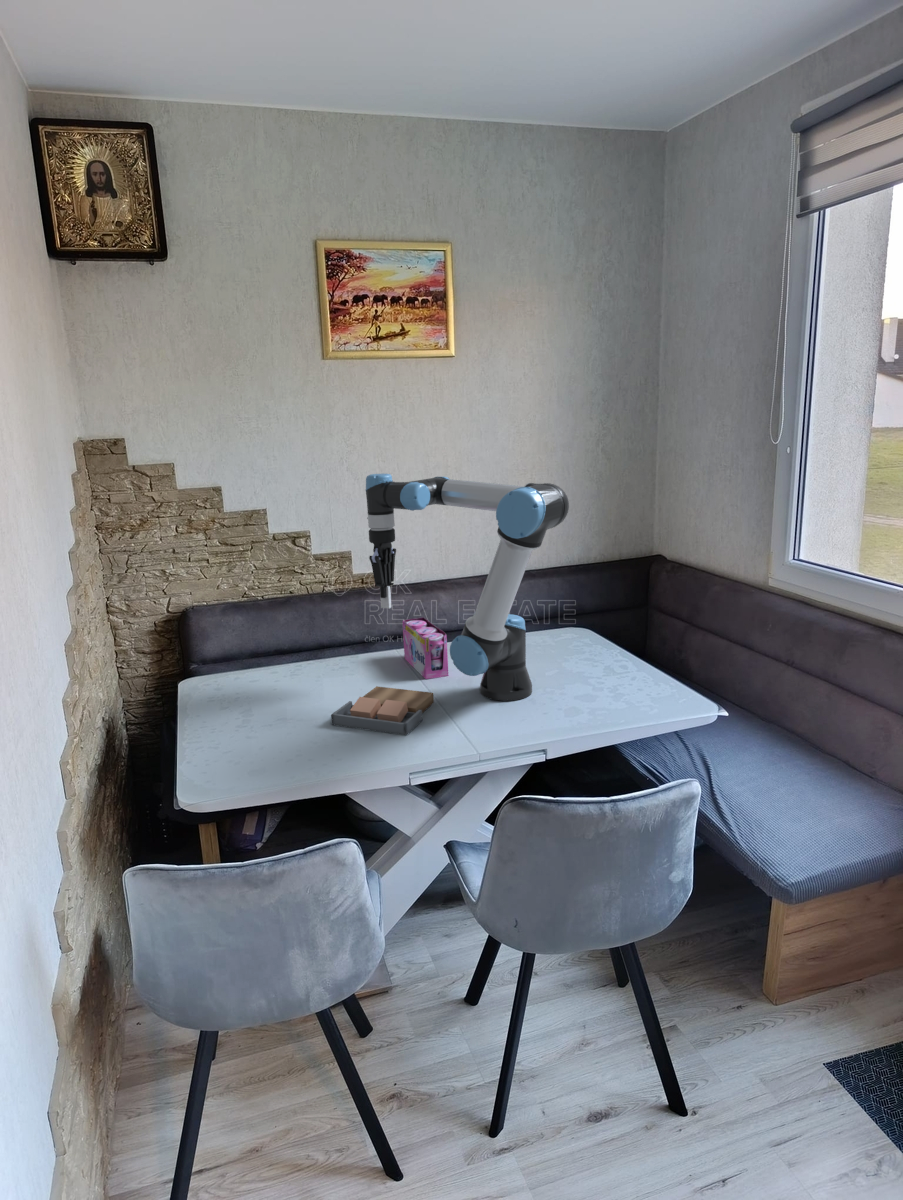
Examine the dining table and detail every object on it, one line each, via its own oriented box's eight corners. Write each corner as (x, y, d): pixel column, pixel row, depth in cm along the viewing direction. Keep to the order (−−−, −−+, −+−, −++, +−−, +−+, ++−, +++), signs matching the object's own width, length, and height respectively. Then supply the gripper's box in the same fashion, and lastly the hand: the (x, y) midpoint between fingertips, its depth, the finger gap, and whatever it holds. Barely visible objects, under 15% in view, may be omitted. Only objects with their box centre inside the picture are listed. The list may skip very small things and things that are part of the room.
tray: (422, 720, 206) (421, 710, 205) (406, 735, 197) (405, 724, 196) (350, 711, 214) (349, 701, 213) (331, 725, 205) (331, 714, 204)
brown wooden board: (433, 702, 218) (433, 692, 217) (416, 718, 207) (415, 708, 206) (377, 695, 225) (376, 686, 224) (357, 711, 214) (356, 701, 213)
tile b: (381, 707, 210) (379, 699, 208) (371, 721, 205) (369, 712, 204) (361, 705, 212) (359, 696, 211) (352, 719, 207) (349, 710, 206)
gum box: (451, 677, 238) (449, 635, 235) (426, 681, 235) (424, 639, 232) (426, 655, 260) (424, 616, 256) (403, 658, 257) (401, 619, 254)
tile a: (408, 710, 207) (406, 702, 206) (399, 725, 202) (397, 716, 201) (388, 708, 209) (386, 699, 208) (378, 722, 205) (376, 713, 203)
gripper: (380, 524, 228) (384, 601, 234) (359, 531, 216) (364, 612, 222) (403, 525, 225) (407, 602, 231) (383, 532, 214) (387, 614, 219)
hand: (386, 607), depth 227 cm, fingers closed
